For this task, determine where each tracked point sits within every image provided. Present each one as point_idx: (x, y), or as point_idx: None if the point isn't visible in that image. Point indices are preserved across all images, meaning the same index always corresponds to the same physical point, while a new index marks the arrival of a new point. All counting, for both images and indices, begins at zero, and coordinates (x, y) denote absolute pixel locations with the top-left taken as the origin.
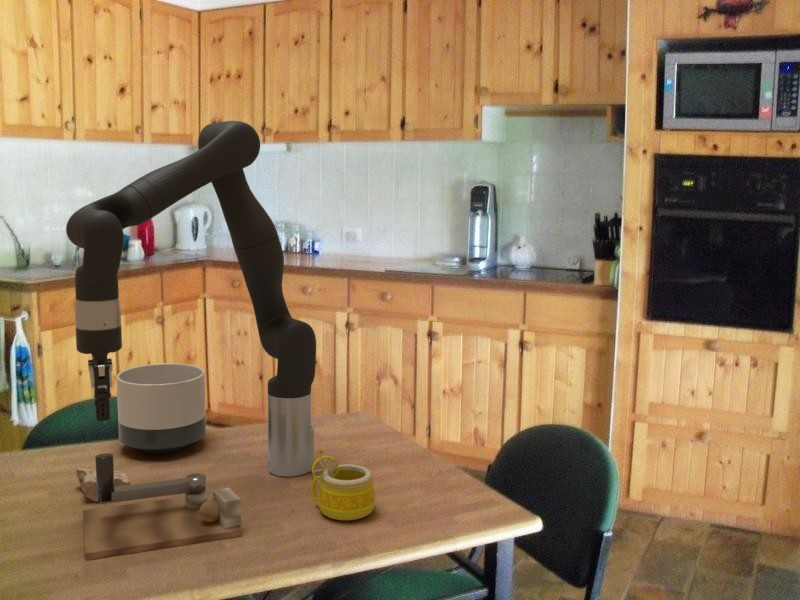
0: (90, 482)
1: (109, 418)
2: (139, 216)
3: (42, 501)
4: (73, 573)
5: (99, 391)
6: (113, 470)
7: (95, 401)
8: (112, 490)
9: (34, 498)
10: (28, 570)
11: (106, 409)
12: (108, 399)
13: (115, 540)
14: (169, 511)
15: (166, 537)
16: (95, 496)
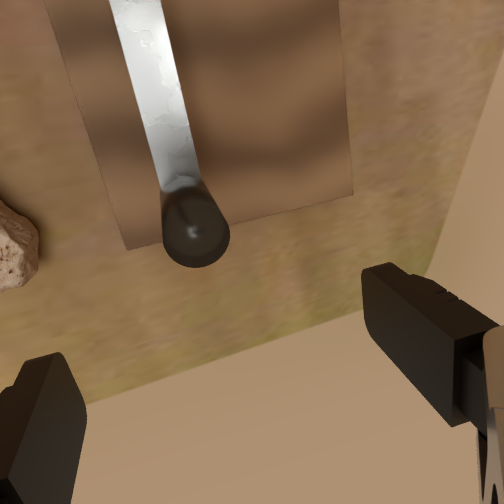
0: (22, 267)
1: (388, 263)
2: None
3: (31, 356)
4: (389, 202)
5: (48, 491)
6: (192, 190)
7: (79, 442)
8: (198, 179)
9: (12, 377)
10: (357, 280)
11: (460, 305)
12: (481, 336)
13: (307, 140)
14: None
15: (319, 8)
16: (34, 240)
